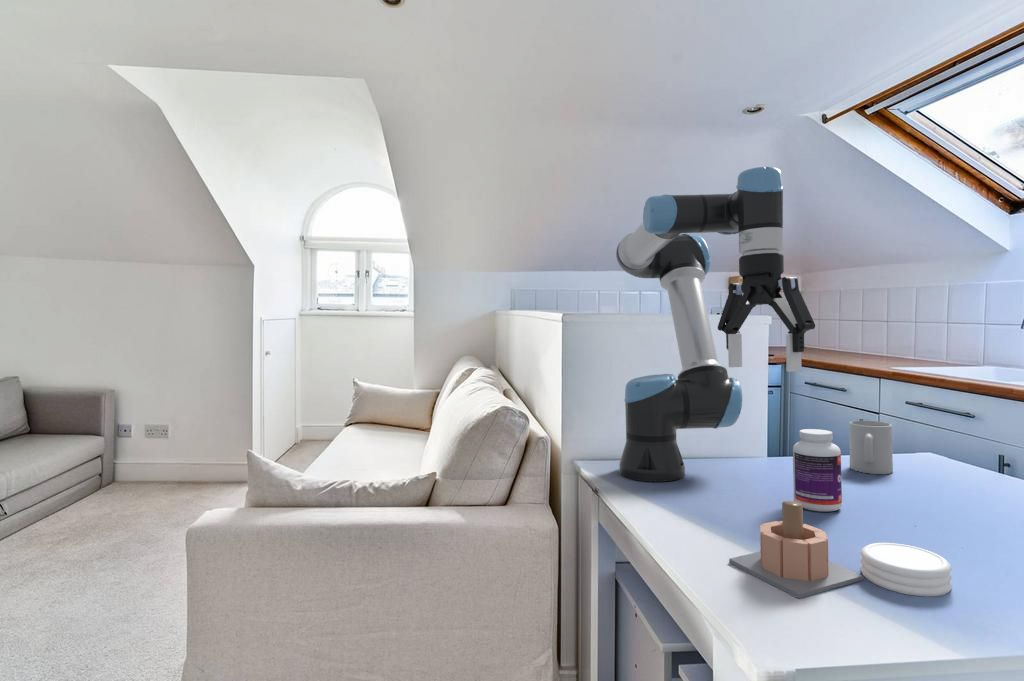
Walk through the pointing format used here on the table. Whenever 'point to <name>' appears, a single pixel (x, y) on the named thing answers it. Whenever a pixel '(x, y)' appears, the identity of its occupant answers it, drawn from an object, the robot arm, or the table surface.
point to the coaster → (906, 569)
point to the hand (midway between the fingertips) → (762, 369)
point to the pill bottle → (817, 471)
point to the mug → (871, 447)
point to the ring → (794, 552)
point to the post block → (797, 588)
